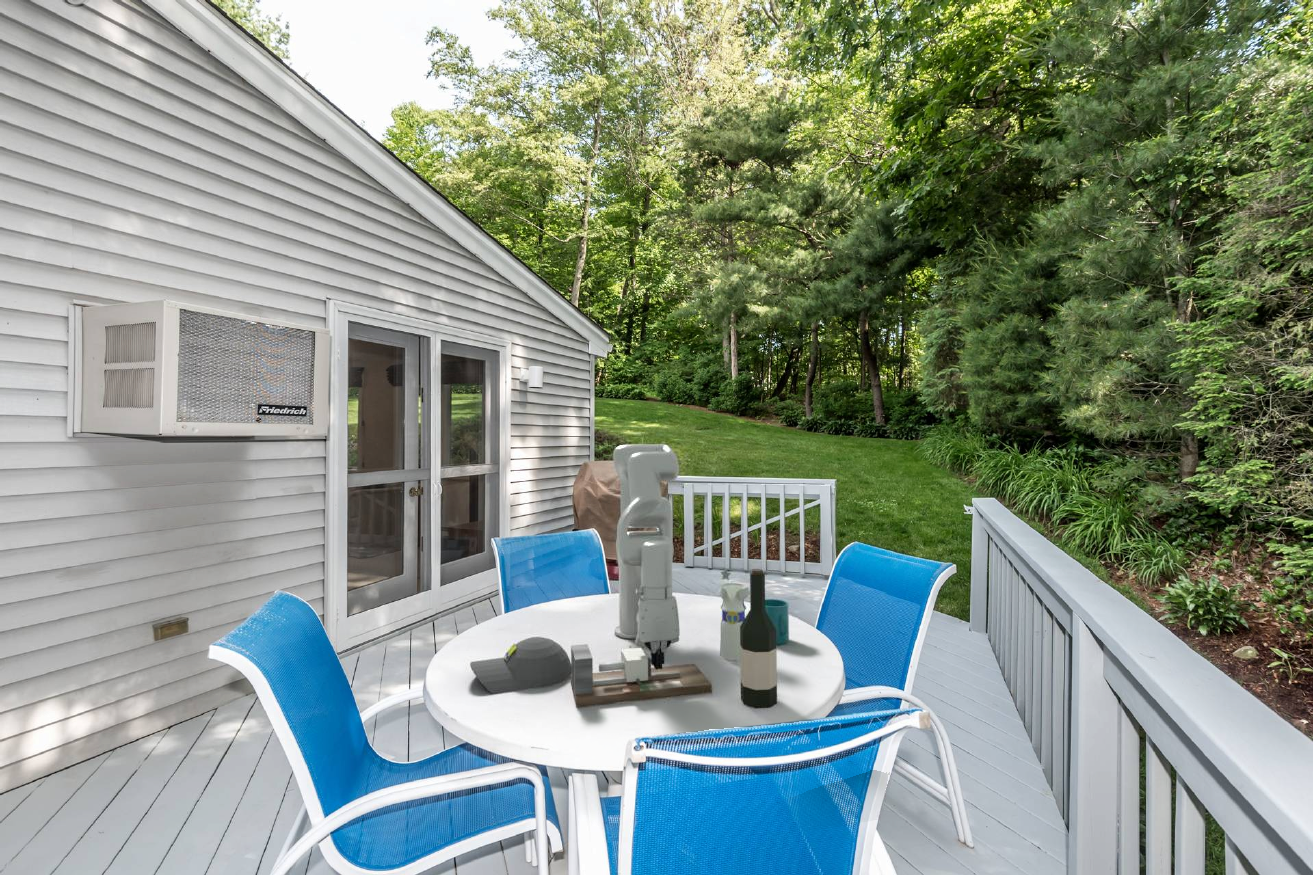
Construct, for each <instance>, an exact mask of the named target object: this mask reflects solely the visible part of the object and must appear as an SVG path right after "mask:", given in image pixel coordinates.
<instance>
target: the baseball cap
mask: <svg viewBox="0 0 1313 875" xmlns="http://www.w3.org/2000/svg"><path fill="white" fill-rule="evenodd" d="M469 666H470V668H471V671H472V672H473V674H474V675H475V677H476V678H477V680H479V682H480V683H481V684H482V685H483V686H484V688H486V689H487V691H488V692H489V693H491V694H494V695H498V694H507V693H512V692H519V691H526V690H533V689H539V688H540V689H541V688H546V687H551V686H554V685H558V684H560V683H562V682H564V681H566V680H568V679H569V678H571V658H570V657H569V655H568V653H567V652H566V650H565V649H564V648H563V647H562V645H560V644H559V643H558V642H556V641H554V640H553V639H550V638H547V637H542V636H533V637H528V638H525V639H523V640H519V641H518V642H517V643H513V644H512V645H511V646H510V647H509V649H508V650H507V651H506V653H505V655H504V656H503V657H498V658H490V659H489V658H488V659H481V660H474V661H470V665H469Z"/></svg>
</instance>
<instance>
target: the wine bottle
mask: <svg viewBox="0 0 1313 875" xmlns="http://www.w3.org/2000/svg"><path fill="white" fill-rule="evenodd" d="M749 592H750V594H749V603H750V604H749V606H750V609H749V611H748V612H747V614H746V615H745V619H744V621H743V622H742V624H741V626H740V660H739V662H740V663H739V664H740V665H739V666H740V700H741V702H742V705H744V706H747V707H750V708H753V709H771V708H773V707H774V706H775V705H777V704H778V679H777V678H778V673H777V672H778V670H777V668H778V665H777V664H778V663H777V660H778V658H777V657H778V656H777V654H778V653H777V645H776V628H775V627H774V625H773V623H772V621H771V620H770V618H769V616H768V615H767V613H766V611H765V599H766V575H765V573H764V570H763V569H761V568H752V569H751V572H750V573H749Z"/></svg>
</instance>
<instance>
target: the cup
mask: <svg viewBox="0 0 1313 875" xmlns="http://www.w3.org/2000/svg"><path fill="white" fill-rule="evenodd" d="M789 606H790V605H789V603H788V602H787V601H785V600H783V599H777V598H769V599H768V598H767V599H766V598H765V611H766V613H767V615H768V616H769V618H770V620H771V621H772V623H773V625H774V627H775V628H776V646H779V645H784V644H787V643H788V642H789V641H790V627H789V626H790V623H789V622H790V621H789V620H790V619H789V617H790V615H789V610H790V609H789Z"/></svg>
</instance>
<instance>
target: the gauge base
mask: <svg viewBox="0 0 1313 875" xmlns="http://www.w3.org/2000/svg"><path fill="white" fill-rule="evenodd" d="M570 652H571V653H570V654H571V655H570V657H571V658H570V662H571V676H570V686H571V690H572V695H573V699H574V704H575V708H583V707H584V708H585V707H590V706H591V707H592V706H593V707H594V706H601V705H609V704H619V703H620V704H621V703H630V702H637V701H638V702H640V701H647V700H658V699H667V697H668V698H676V697H685V696H693V695H703V694H704V695H705V694H713V693H712V692H713V690H712V689H713V688H712V687H713V686H712V682H710V680H709V679H708V678H707V676H705V674H704V673H703V672H702V670H700V668H699V667H698V665H696V663H687V664H686V663H685V664H675V665H674V664H673V665H665V666H663V665H662V669H657V670H656V669H655V668H654V666H653V667H652V666H651V676H648V680H644V681H640V682H641V685H638V684H637V682H636V681H634V682H627V681H626V679H625V677H624V674H623V672H622V670H613V671H603V672H593V669H594V668H593V667H594V665H593V663H594V661H593V656H592V653H591V650H590V646H589V645H588V643H587V644H586V643H585V644H571V645H570Z"/></svg>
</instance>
